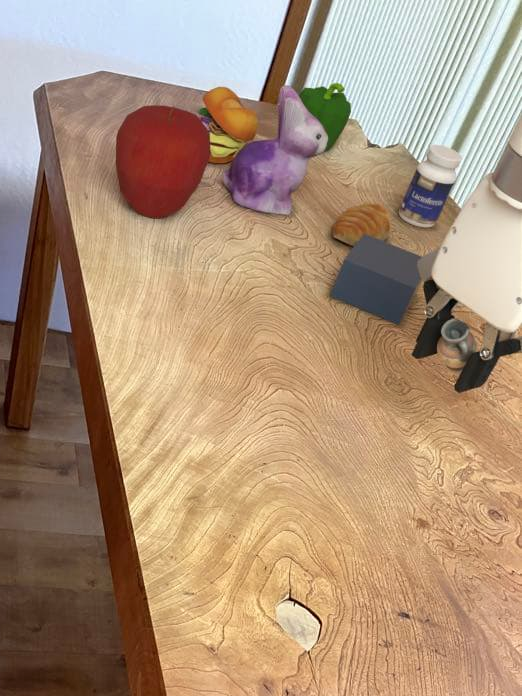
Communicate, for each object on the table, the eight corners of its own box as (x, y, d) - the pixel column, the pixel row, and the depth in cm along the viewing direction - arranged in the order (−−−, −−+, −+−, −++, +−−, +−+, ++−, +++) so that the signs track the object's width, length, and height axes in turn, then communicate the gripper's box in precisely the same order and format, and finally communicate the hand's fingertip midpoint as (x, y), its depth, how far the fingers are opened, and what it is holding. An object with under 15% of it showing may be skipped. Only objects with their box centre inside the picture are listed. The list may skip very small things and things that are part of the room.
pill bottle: (398, 222, 129) (427, 154, 122) (395, 206, 133) (424, 139, 126) (436, 232, 129) (468, 164, 122) (433, 216, 133) (463, 149, 126)
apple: (175, 190, 122) (200, 89, 113) (207, 233, 115) (236, 128, 106) (93, 187, 118) (111, 81, 109) (120, 231, 111) (142, 121, 102)
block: (349, 269, 115) (364, 233, 112) (415, 296, 114) (432, 260, 110) (329, 296, 109) (344, 258, 106) (398, 324, 107) (415, 287, 104)
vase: (440, 397, 80) (468, 339, 76) (402, 364, 84) (426, 307, 80) (483, 387, 83) (512, 331, 79) (444, 355, 86) (469, 300, 82)
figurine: (309, 215, 125) (348, 104, 114) (249, 218, 121) (284, 103, 110) (273, 184, 130) (307, 75, 120) (214, 186, 126) (244, 73, 115)
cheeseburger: (173, 129, 138) (205, 66, 131) (234, 162, 140) (268, 102, 133) (167, 153, 130) (200, 87, 124) (232, 187, 132) (267, 124, 126)
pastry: (359, 256, 119) (370, 229, 116) (317, 234, 121) (327, 207, 118) (391, 239, 124) (402, 213, 122) (350, 218, 127) (360, 192, 124)
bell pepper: (281, 130, 147) (301, 65, 140) (327, 137, 148) (349, 74, 141) (293, 152, 141) (314, 85, 134) (341, 159, 142) (365, 94, 136)
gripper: (662, 226, 67) (540, 416, 80) (492, 130, 76) (407, 315, 89) (604, 239, 64) (487, 436, 77) (434, 136, 72) (354, 328, 85)
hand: (445, 369), depth 83 cm, fingers closed on vase, 4 cm apart
